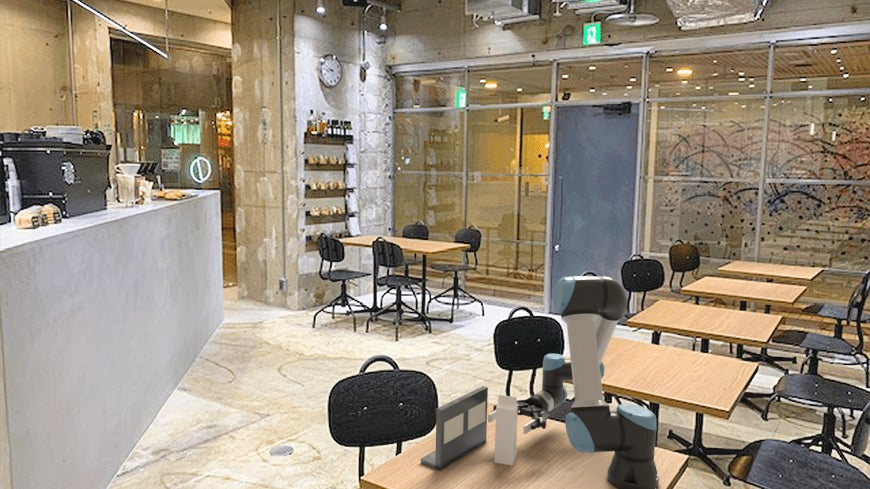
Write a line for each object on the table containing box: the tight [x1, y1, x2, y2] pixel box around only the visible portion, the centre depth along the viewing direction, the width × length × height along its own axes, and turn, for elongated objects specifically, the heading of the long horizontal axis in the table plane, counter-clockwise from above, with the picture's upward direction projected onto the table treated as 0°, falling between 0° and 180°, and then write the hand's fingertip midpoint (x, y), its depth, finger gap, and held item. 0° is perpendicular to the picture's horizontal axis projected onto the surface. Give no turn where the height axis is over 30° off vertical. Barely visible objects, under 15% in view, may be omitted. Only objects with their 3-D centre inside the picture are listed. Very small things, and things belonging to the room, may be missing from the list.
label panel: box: [420, 385, 489, 471], centre depth 208 cm, size 8×26×20 cm, turn 142°
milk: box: [494, 394, 519, 467], centre depth 204 cm, size 6×6×22 cm
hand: (506, 424), depth 204 cm, fingers open, 13 cm apart
